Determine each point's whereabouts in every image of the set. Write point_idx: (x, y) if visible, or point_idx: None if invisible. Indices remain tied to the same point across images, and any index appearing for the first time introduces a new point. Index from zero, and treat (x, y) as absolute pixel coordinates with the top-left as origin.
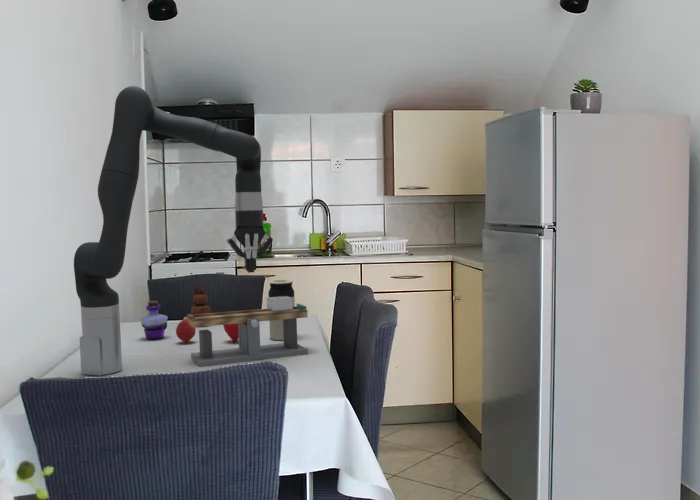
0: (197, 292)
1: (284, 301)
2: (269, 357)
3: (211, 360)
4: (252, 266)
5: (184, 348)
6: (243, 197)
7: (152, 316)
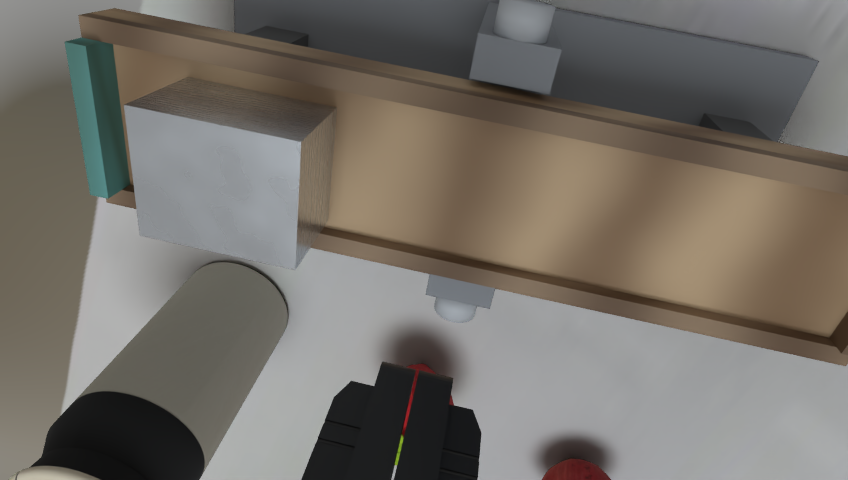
0: None
1: (204, 111)
2: None
3: (751, 53)
4: (391, 420)
5: (629, 397)
6: None
7: None
